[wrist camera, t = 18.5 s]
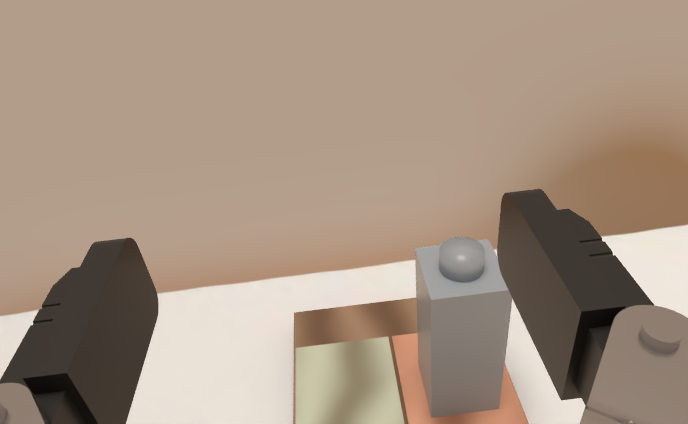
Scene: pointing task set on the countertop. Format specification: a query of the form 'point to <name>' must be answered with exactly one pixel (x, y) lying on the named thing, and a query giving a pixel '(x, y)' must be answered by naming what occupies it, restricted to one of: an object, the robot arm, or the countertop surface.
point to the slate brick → (461, 325)
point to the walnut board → (372, 370)
